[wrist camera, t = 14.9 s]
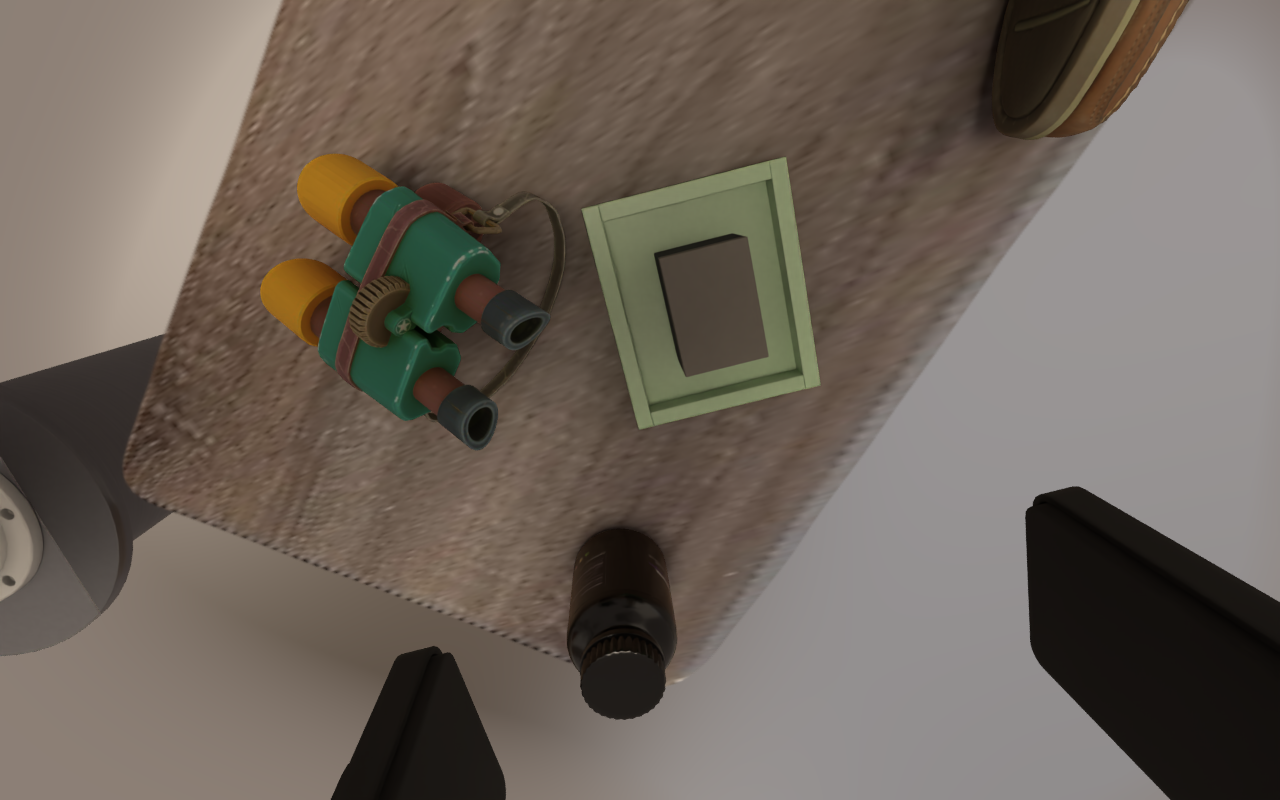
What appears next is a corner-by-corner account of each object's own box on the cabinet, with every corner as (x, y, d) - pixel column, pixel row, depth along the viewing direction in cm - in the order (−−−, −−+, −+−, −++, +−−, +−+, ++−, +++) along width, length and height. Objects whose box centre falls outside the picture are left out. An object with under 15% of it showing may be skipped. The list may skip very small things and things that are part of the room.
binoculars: (511, 176, 39) (295, 69, 25) (684, 276, 34) (535, 212, 21) (428, 362, 42) (199, 357, 29) (575, 475, 38) (387, 533, 24)
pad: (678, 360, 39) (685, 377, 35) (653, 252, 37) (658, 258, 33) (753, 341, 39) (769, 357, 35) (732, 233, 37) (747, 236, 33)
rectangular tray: (636, 417, 41) (638, 430, 39) (582, 208, 37) (580, 208, 34) (808, 374, 41) (820, 385, 38) (774, 159, 36) (786, 156, 34)
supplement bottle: (683, 553, 45) (710, 673, 33) (631, 618, 46) (640, 754, 35) (606, 508, 43) (606, 617, 32) (555, 577, 45) (538, 704, 33)
